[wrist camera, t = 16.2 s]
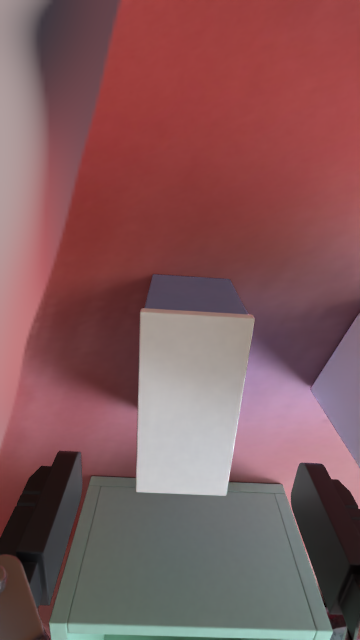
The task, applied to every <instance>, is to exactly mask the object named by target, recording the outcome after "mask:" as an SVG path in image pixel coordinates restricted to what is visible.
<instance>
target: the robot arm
mask: <svg viewBox="0 0 360 640" xmlns="http://www.w3.org/2000/svg"><path fill="white" fill-rule="evenodd" d="M81 493H82V463H81V453H80V452H74V451H59V452H58V453H57V455H56V457H55V460H54V462H53V464H52V466H41V467H40V468H39V469H38V470H37V471H36V472H35V473H34V474H33V475H32V476H31V477H30V478H29V479H28V482H27V484H26V486H25V488H24V490H23V493H22V494H21V496H20V498H19V500H18V502H17V506H15V508H14V511H13V513H12V515H11V517H10V519H9V521H8V523H7V525H6V527H5V529H4V531H3V533H2V535H1V537H0V640H50V638H49V636H48V635H47V634H46V633H45V630H44V628H43V625H42V622H41V619H40V616H39V613H38V610H37V609H38V606H39V605H50V602H51V598H52V595H53V592H54V588H55V585H56V581H57V578H58V574H59V571H60V568H61V564H62V561H63V557H64V554H65V551H66V547H67V544H68V540H69V537H70V533H71V530H72V527H73V523H74V520H75V516H76V513H77V509H78V506H79V503H80V499H81ZM291 505H292V510H293V513H294V516H295V518H296V521H297V524H298V527H299V530H300V533H301V535H302V538H303V541H304V544H305V547H306V549H307V552H308V555H309V558H310V561H311V564H312V566H313V569H314V572H315V575H316V578H317V580H318V583H319V586H320V589H321V592H322V595H323V597H324V600H325V603H326V606H327V609H328V611H329V614H338V615H343V617H344V620H345V622H346V625H347V626H346V628H345V631H344V635H343V640H360V509H358V505H357V503H356V502H355V500H354V498H353V496H352V494H351V493H350V491H349V490H348V489H347V488H346V487H345V486H344V485H343V484H342V483H341V482H340V481H339V480H333V479H331V478H330V476H329V474H328V472H327V470H326V468H325V467H324V465H323V464H319V463H300V464H299V466H298V470H297V473H296V477H295V481H294V484H293V488H292V492H291Z"/></svg>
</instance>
